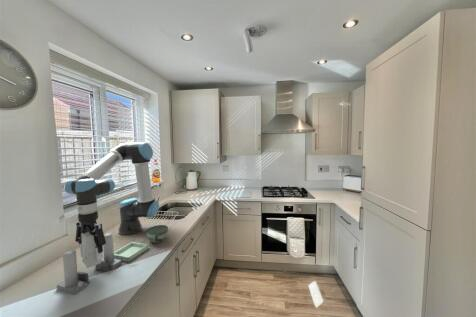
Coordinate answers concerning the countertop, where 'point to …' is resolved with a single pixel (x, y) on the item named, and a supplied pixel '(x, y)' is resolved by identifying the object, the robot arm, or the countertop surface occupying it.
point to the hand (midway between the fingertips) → (91, 257)
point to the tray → (130, 251)
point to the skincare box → (89, 250)
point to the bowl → (157, 233)
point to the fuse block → (79, 280)
